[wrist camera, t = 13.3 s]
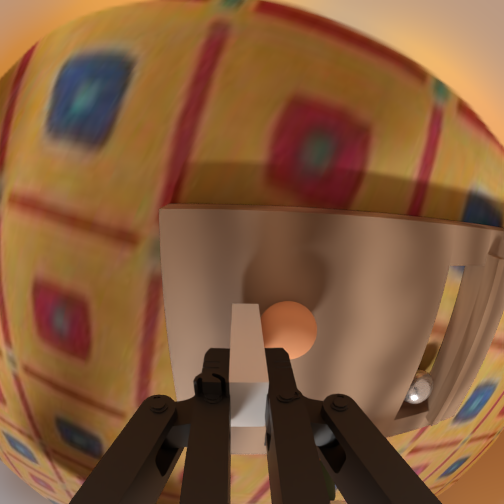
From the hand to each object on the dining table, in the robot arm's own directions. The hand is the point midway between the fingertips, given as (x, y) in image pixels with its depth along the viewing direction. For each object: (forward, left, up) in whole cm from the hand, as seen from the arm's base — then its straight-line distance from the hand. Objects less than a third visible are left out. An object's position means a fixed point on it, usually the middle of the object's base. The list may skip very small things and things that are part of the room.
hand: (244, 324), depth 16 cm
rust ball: (+2, 0, 0) cm, 2 cm away
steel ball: (+16, -9, -2) cm, 19 cm away
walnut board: (+10, -5, -4) cm, 12 cm away
